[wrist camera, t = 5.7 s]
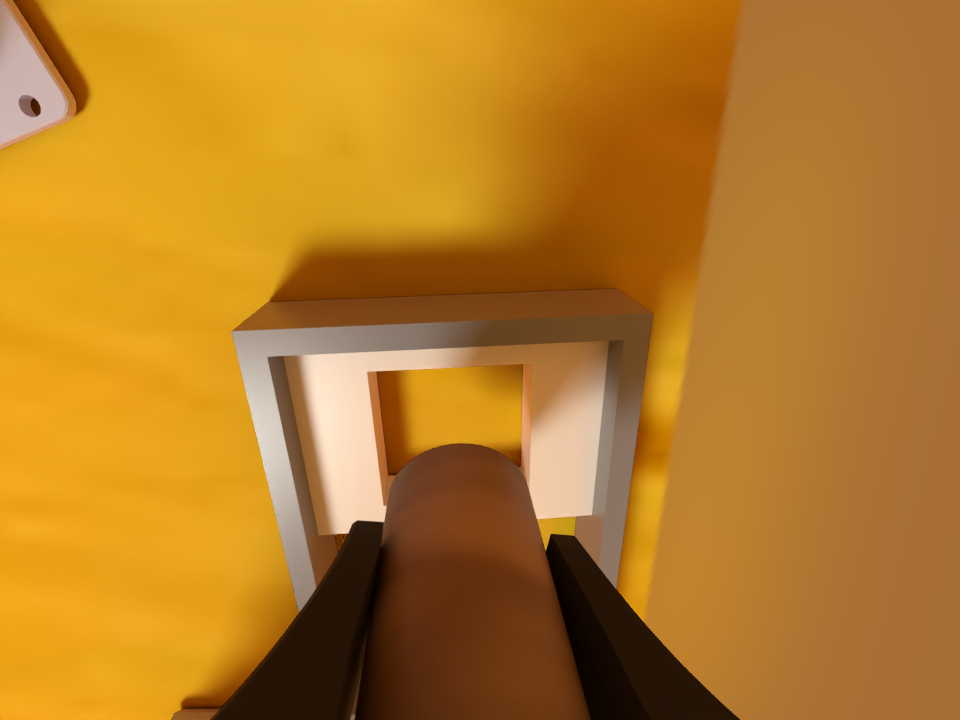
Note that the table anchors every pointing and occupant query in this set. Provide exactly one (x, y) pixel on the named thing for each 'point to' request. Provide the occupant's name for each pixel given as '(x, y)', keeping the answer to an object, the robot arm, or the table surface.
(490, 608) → the walnut peg
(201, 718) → the vintage mobile phone
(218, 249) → the table surface
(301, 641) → the robot arm
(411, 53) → the table surface
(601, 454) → the grey tray
